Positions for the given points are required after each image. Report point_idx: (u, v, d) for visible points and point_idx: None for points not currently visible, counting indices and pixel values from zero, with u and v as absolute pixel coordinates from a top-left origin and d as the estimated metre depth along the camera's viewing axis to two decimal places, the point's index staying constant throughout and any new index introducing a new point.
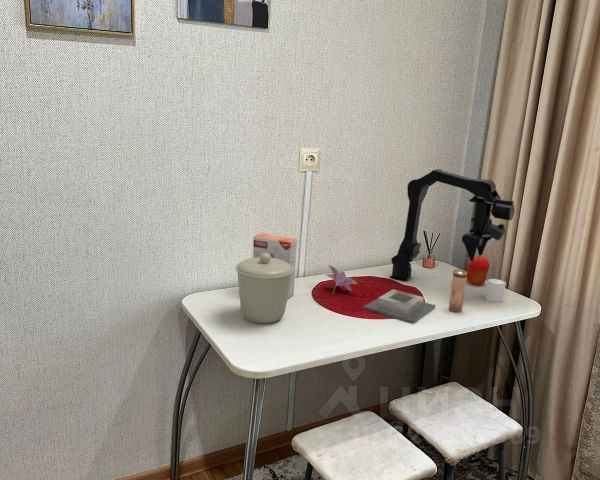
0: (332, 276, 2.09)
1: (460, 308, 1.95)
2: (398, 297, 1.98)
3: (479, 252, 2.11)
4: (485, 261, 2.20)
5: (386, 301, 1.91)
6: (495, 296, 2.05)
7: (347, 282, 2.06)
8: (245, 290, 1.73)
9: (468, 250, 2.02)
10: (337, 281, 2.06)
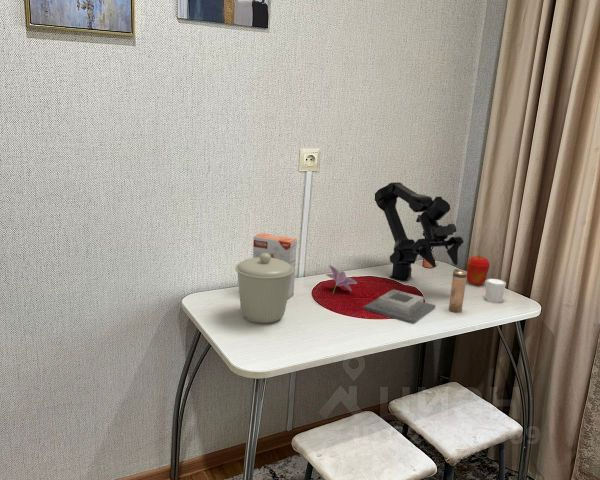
0: (332, 276, 2.09)
1: (460, 308, 1.95)
2: (398, 297, 1.98)
3: (454, 262, 2.03)
4: (485, 261, 2.20)
5: (386, 301, 1.91)
6: (495, 296, 2.05)
7: (347, 282, 2.06)
8: (245, 290, 1.73)
9: (426, 259, 2.01)
10: (337, 281, 2.06)
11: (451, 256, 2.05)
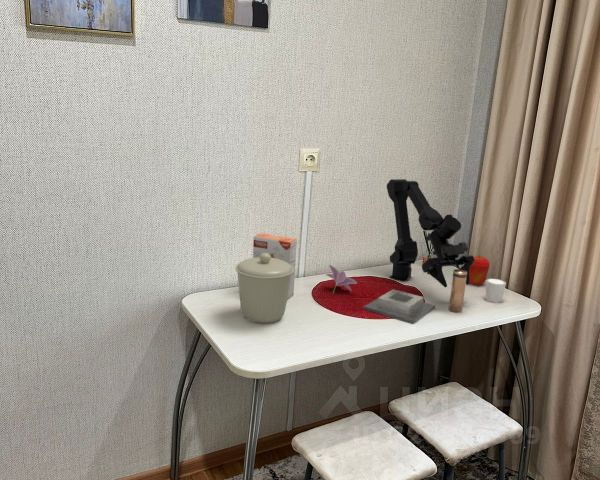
0: (332, 276, 2.09)
1: (460, 308, 1.95)
2: (398, 297, 1.98)
3: (466, 282, 1.97)
4: (485, 261, 2.20)
5: (386, 301, 1.91)
6: (495, 296, 2.05)
7: (347, 282, 2.06)
8: (245, 290, 1.73)
9: (437, 278, 1.95)
10: (337, 281, 2.06)
11: None
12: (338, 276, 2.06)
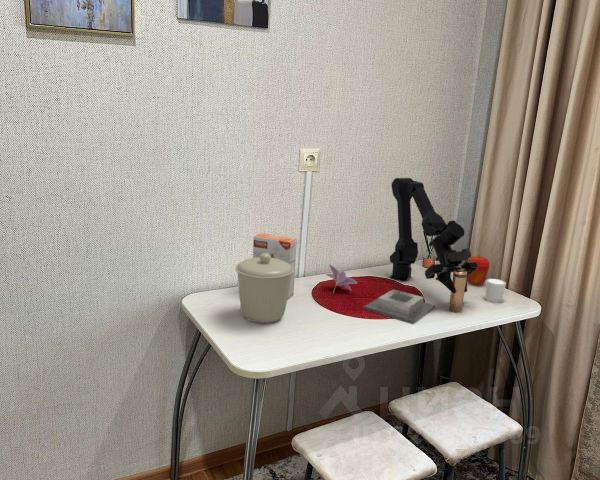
0: (332, 276, 2.09)
1: (460, 308, 1.95)
2: (398, 297, 1.98)
3: None
4: (485, 261, 2.20)
5: (386, 301, 1.91)
6: (495, 296, 2.05)
7: (347, 282, 2.07)
8: (245, 290, 1.73)
9: (445, 284, 1.95)
10: (337, 281, 2.06)
11: None
12: (338, 276, 2.06)
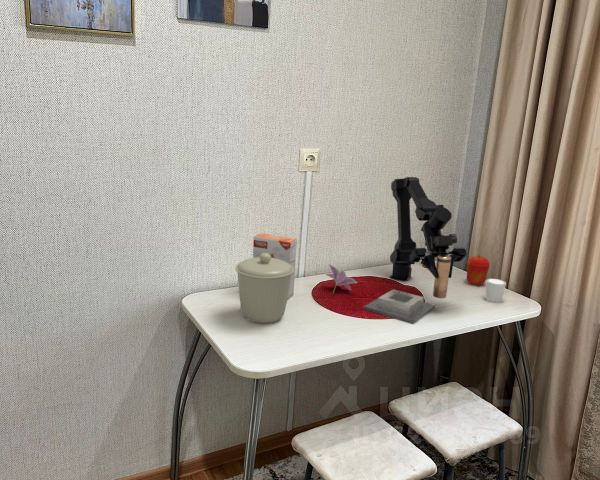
0: (332, 276, 2.09)
1: (443, 294, 1.91)
2: (398, 297, 1.98)
3: None
4: (485, 261, 2.20)
5: (386, 301, 1.91)
6: (495, 296, 2.05)
7: (347, 281, 2.07)
8: (245, 290, 1.73)
9: (429, 269, 1.92)
10: (337, 281, 2.06)
11: None
12: (338, 276, 2.06)
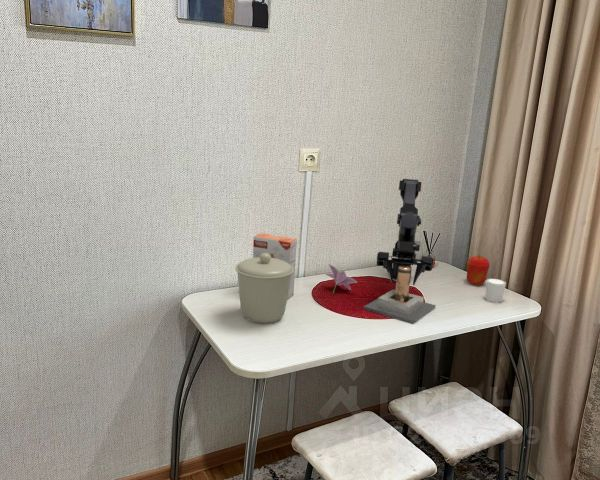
0: (332, 275, 2.09)
1: None
2: None
3: (413, 282, 1.92)
4: (485, 261, 2.20)
5: (386, 301, 1.91)
6: (495, 296, 2.05)
7: (347, 281, 2.07)
8: (245, 290, 1.73)
9: (388, 273, 1.95)
10: (337, 280, 2.07)
11: None
12: (338, 276, 2.06)
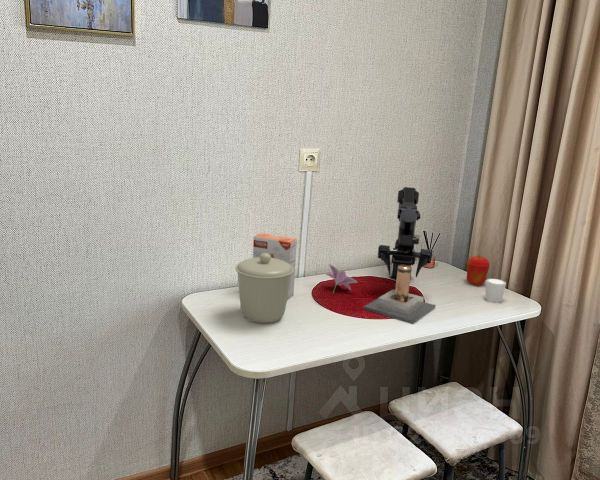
0: (332, 275, 2.09)
1: None
2: None
3: None
4: (485, 261, 2.20)
5: (386, 301, 1.91)
6: (495, 296, 2.05)
7: (347, 281, 2.07)
8: (245, 290, 1.73)
9: (386, 265, 2.04)
10: (337, 280, 2.07)
11: None
12: (338, 275, 2.06)
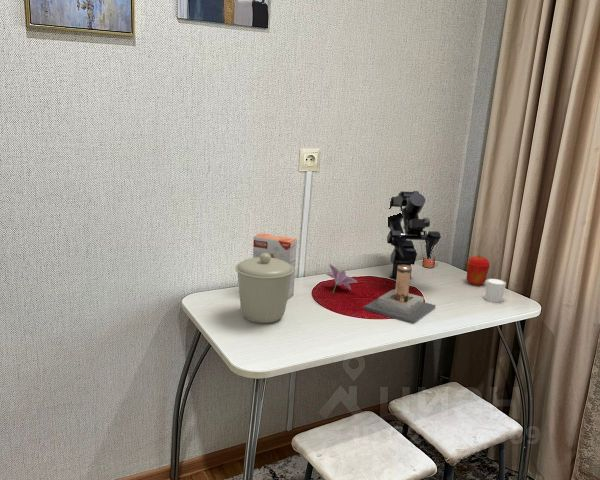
0: (332, 275, 2.10)
1: None
2: None
3: (427, 256, 2.08)
4: (485, 261, 2.20)
5: (386, 301, 1.91)
6: (495, 296, 2.05)
7: (347, 281, 2.07)
8: (245, 290, 1.73)
9: (398, 249, 2.09)
10: (337, 280, 2.07)
11: (426, 250, 2.10)
12: (338, 275, 2.06)
